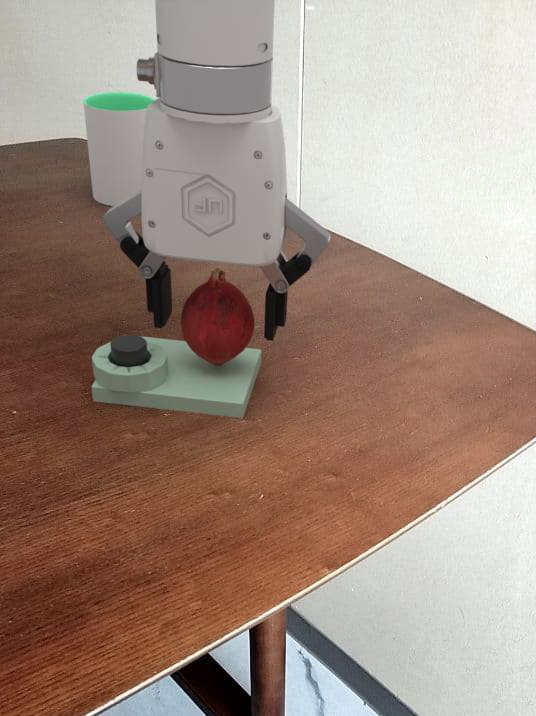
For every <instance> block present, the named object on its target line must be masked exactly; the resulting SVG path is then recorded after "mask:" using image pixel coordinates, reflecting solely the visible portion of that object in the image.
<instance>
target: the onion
mask: <svg viewBox="0 0 536 716" xmlns="http://www.w3.org/2000/svg"><path fill="white" fill-rule="evenodd" d="M180 325H181V332H182V338H183V339H184V341H186V343H187V344H188V346H189V347H190V348H191V350H192V351H193V352H194V353H195V354H196V355H197V356H199V357H200V358H202V359H204V360H206V361H208V362H210V363H212V364H213V365H222V364H224V363H226V362H228V361H230V360H232V359H233V358H235V357H236V356H237V355H239V354H240V353H241V352H242V351H244V349H245V348H247V346H248V345H249V343H250V342H251V340H252V338H253V335H254V331H255V316H254V312H253V309H252V306H251V304H250V302H249V300H248V298H247V297H246V295H245V293H244V292H243V291H241V289H239V288H238V287H237V286H236V285H234V284H233V283H232V282H229V281H227V279H226V272H225V271H223V270H222V269H221V268H218V267H217V268H215V269H213V270H212V271H210V277H209V278H208V280H207V281H206V282H204V283H202V284H201V285H199V286H197V288H195V289H194V290H193V291H192V293H191V294H189V296H188V297H187V299H186V300H185V302H184V304H183V307H182V309H181V316H180Z"/></svg>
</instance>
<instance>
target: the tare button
mask: <svg viewBox="0 0 536 716" xmlns="http://www.w3.org/2000/svg"><path fill="white" fill-rule="evenodd" d="M140 336H141V335H138V334H137V335H136V334H122V335H117V336H116V337H114V338H113V339H112V340H110V342H111V343H110V342H109V343H110V346H111V356H112V362H113V364H115V365H117V366H120V367H135V366H142V365H144V364H146V363H147V361H148V352H147V342H146V340H145V339H144V338H143V337H144V336H142V337H140Z"/></svg>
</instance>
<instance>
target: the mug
mask: <svg viewBox="0 0 536 716" xmlns="http://www.w3.org/2000/svg"><path fill="white" fill-rule="evenodd" d="M155 100H156V99H155V98H153V97H151V96H149V95H146V94H142V93H136V92H127V91H126V92H124V91H112V92H111V91H108V92H99V93H94V94H91V95H87V96H86V97H84V99H83V111H84V120H85V129H86V130H85V131H86V139H87V141H86V142H87V148H88V149H87V151H88V160H89V161H88V162H89V170H90V179H91V180H90V182H91V191H92V198H93V200H95V201H96V202H97V203H100V204H101V205H105V206H109V205H110V206H109V207H114V206H115V205H117V204H118V203H120V202H122V201H123V200H125V199H127V198H128V197H130V196H132V195H133V194H135V193H137V192H138V191H140V190H142V155H143V139H144V128H145V120H146V113H147V107H148V105H149V104H150V103H152V102H153V101H155Z"/></svg>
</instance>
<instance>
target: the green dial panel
mask: <svg viewBox="0 0 536 716" xmlns="http://www.w3.org/2000/svg"><path fill="white" fill-rule="evenodd" d="M139 336H140V337H143V338H144V339H145V340H146V342H147V352H148V361H147V363H146V364H144V365H142V366H135V367H120V366H117V365H115V364H113V362H112V356H111V346H110V343H111V341H110V342H108V343H107V342H106V343H105V344H103V345H101V346H99V347H98V348H96V349H95V351H94V353H93V354H92V356H91V364H92V372H93V377H94V379H95V380H94V382H93V383H92V385H91V387H90V388H91V395H92V402H97V403H105V404H115V405H124V406H132V407H141V408H148V409H149V408H150V409H157V410H165V411H167V410H168V411H177V412H185V413H192V414H193V413H195V414H201V415H202V414H203V415H210V416H211V415H212V416H218V417H219V416H220V417H227V418H228V417H229V418H237V419H244V416H245V413H246V411H247V408H248V404H249V401H250V398H251V397H252V396H251V395H252V392H253V389H254V387H255V384H256V380H257V377H258V374H259V371H260V368H261V365H262V349H260V348H251V347H246V348H245V349H244V351H242V352H241V353H240V354H239V355H237V356H236V357H235V358H233V359H232V360H230V361H228V362H226V363H224V364H222V365H213V364H212V363H210V362H208V361H206V360H204V359H202V358H200V357H199V356H197V355H196V354H195V353H194V352H193V351H192V350H191V348H190V347H189V346H188V344H187V343H186V341H185V340H179V339H178V340H177V339H171V338H170V339H169V338H159V337H149V336H142V335H139Z"/></svg>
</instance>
